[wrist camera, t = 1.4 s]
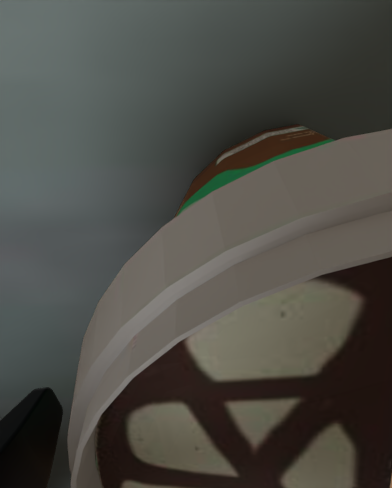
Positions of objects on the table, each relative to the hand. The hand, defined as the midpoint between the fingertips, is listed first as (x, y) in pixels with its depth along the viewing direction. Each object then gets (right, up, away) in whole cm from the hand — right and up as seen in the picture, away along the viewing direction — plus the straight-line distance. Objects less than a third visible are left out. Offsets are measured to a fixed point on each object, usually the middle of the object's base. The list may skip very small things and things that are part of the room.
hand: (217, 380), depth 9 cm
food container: (0, +3, +6) cm, 7 cm away
